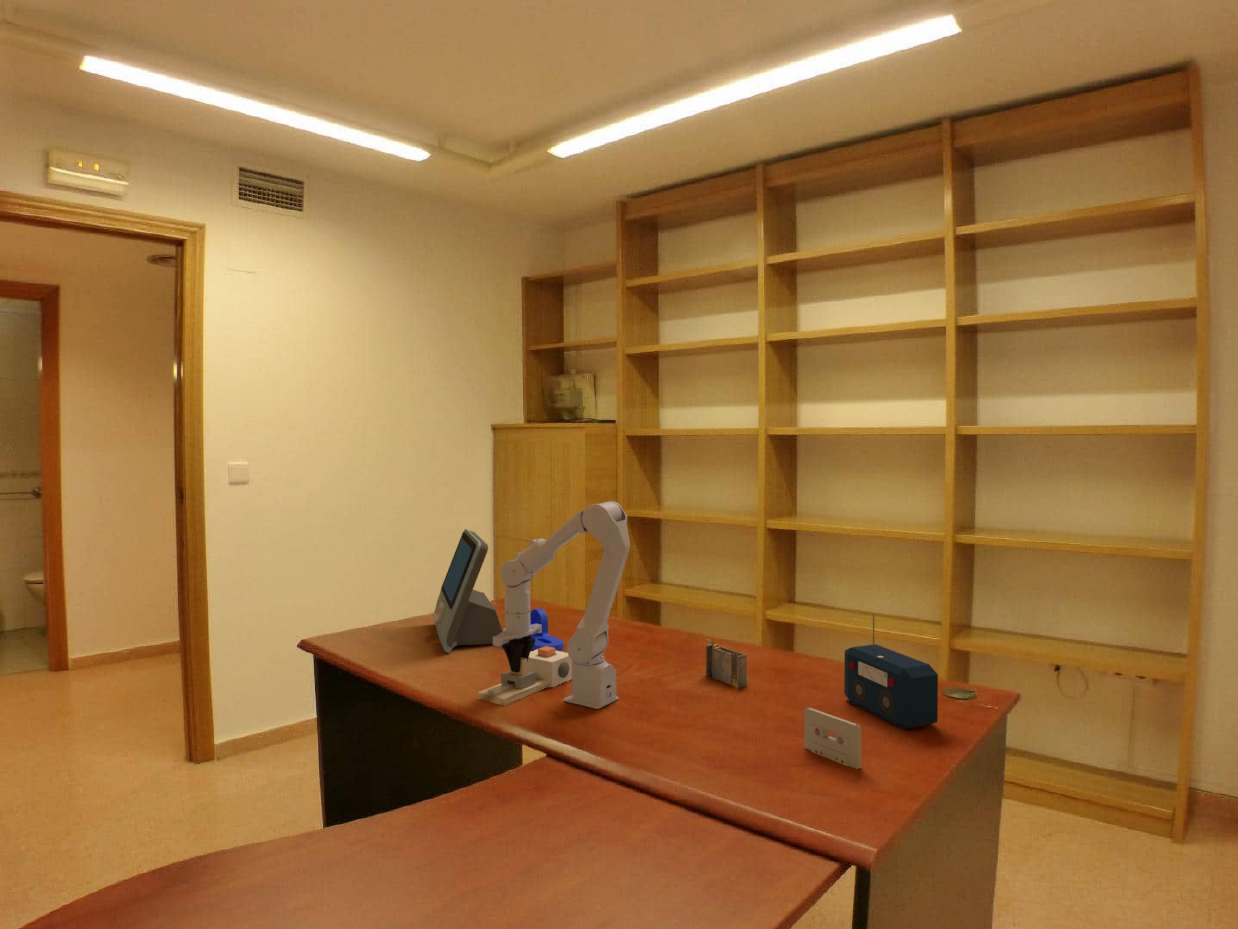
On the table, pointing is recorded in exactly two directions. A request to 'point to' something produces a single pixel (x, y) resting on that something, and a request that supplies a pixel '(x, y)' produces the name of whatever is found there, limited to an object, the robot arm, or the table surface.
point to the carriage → (519, 676)
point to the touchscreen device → (465, 599)
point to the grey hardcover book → (726, 665)
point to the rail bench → (513, 693)
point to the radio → (891, 685)
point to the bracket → (544, 632)
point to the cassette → (838, 749)
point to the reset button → (546, 652)
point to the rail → (504, 688)
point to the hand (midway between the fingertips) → (518, 670)
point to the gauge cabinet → (551, 667)
